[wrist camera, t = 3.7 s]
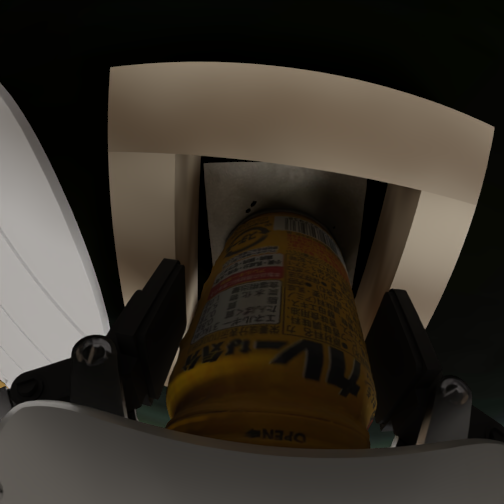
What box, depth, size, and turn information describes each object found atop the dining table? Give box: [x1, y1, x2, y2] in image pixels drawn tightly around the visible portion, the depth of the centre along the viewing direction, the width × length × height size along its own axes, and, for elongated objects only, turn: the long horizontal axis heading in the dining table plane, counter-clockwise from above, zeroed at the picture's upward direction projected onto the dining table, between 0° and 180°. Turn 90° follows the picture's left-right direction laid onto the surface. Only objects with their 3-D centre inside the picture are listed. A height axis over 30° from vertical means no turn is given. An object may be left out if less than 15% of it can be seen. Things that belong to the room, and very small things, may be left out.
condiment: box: [166, 162, 377, 449], centre depth 10 cm, size 7×8×12 cm
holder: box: [108, 62, 494, 386], centre depth 13 cm, size 16×14×4 cm
